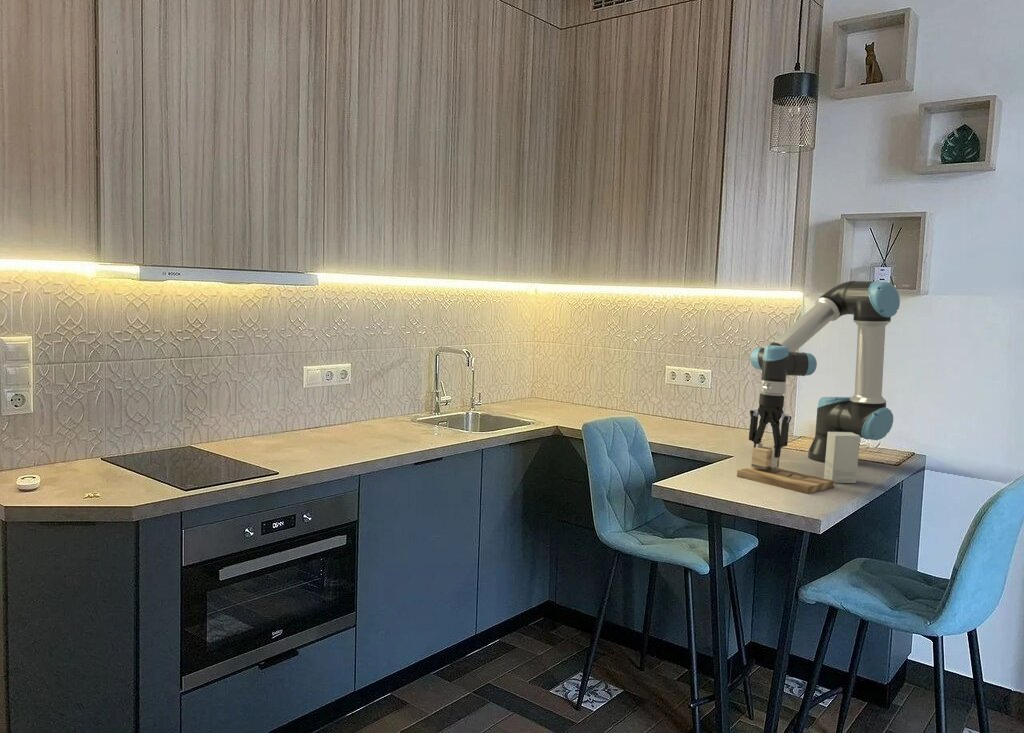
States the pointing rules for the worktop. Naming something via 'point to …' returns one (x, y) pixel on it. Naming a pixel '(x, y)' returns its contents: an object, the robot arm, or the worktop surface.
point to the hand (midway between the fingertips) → (765, 465)
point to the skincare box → (842, 457)
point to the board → (786, 479)
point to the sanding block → (762, 457)
